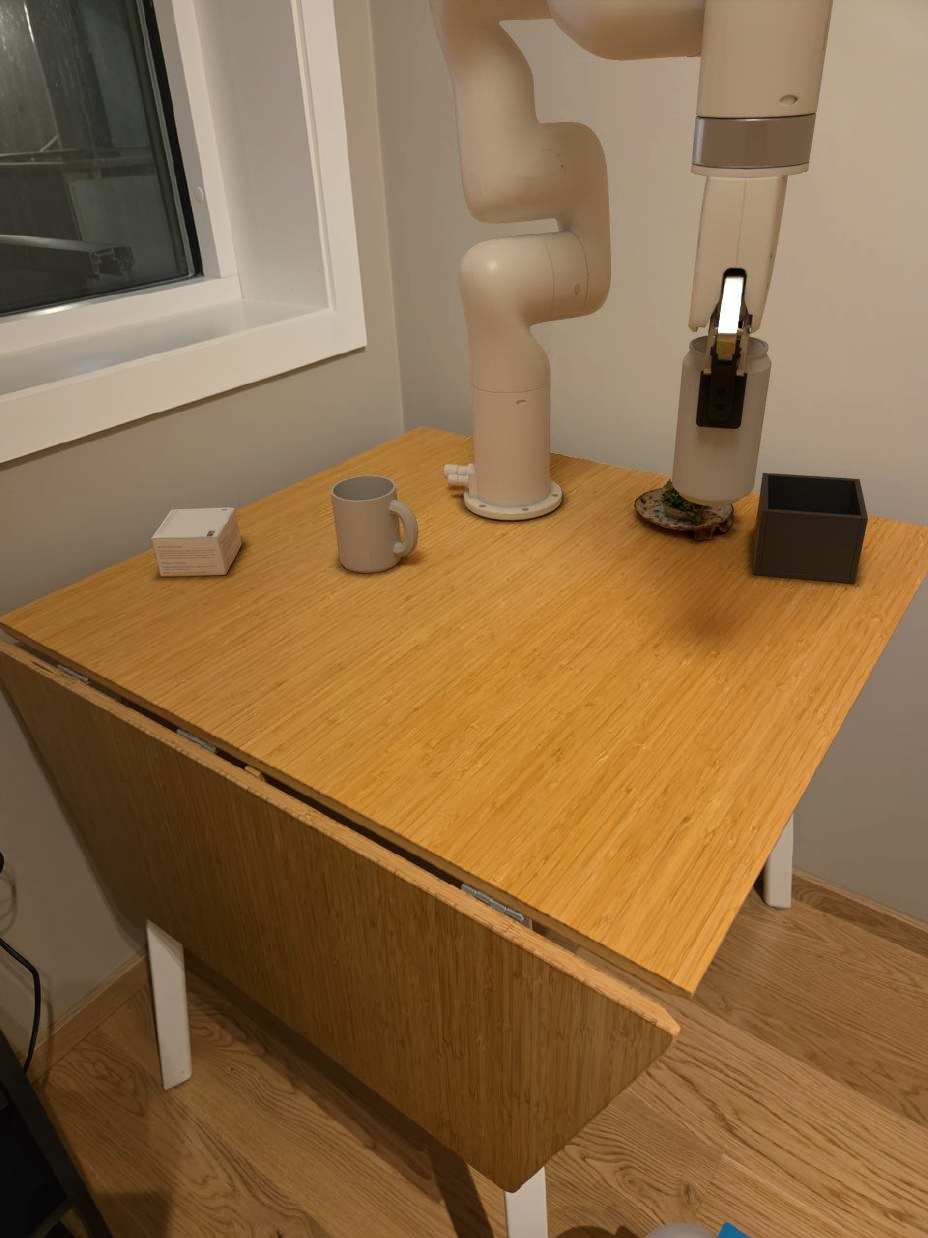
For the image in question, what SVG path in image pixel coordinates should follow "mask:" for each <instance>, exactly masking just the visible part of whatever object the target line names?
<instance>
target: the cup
mask: <svg viewBox="0 0 928 1238" xmlns="http://www.w3.org/2000/svg"><path fill="white" fill-rule="evenodd" d="M330 497H331V505H332V512H333V520H334V521H333V522H334V528H335V534H336V542H337V551H338V556H339V562H340V564H341V565H342V566H343V567H344V568H345V570H348V571H349V572H353V573H358V574H376V573H382V572H384V571H385V572H386V571H388V570H390V569H393V567H395V566H396V565H397V564H398V563H399V562H400V560H401V559H402V557H405V556H410V555H411V554H412V553H414V551H415V550H416V548H417V545H418V540H419V525H418V522H417V517H416V515H415V513H414V511H413V510H412V508H411V507H410V506H409V505H408V504H407V503H405V502H403V501H401V500H398V492H397V484H396V482H395V481H394V480H393V479H391V478H389V477H387V476H381V475H374V474H367V475H365V474H364V475H356V476H351V477H347V478H344V479H342V480H340V481H338V482H336V483H334V485H332V486H331V488H330ZM400 521H401V524H402V529H403V533H404V535H403V541H402V537H401V526H400Z"/></svg>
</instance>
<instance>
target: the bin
mask: <svg viewBox="0 0 928 1238" xmlns="http://www.w3.org/2000/svg"><path fill="white" fill-rule="evenodd" d="M757 504H758V505H757V511H756V512H757V513H756V519H755V525H754V532H753V533H754V534H753V566H752V567H753V569H752V570H753V571H752V574H753V576H763V577H774V578H785V579H796V580H797V579H798V580H809V581H818V582H819V581H820V582H829V583H830V582H831V583H842V584H850V585H851V584H852V585H855V582H856V578H857V574H858V570H859V564H860V558H861V554H862V550H863V545H864V541H865V536H866V531H867V526H868V522H869V516H868V511H867V507H866V502H865V498H864V493H863V487H862V483H861V479H860V478H853V477H837V476H821V475H805V474H788V473H773V472H762V475H761V483H760V490H759V496H758V503H757Z"/></svg>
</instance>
